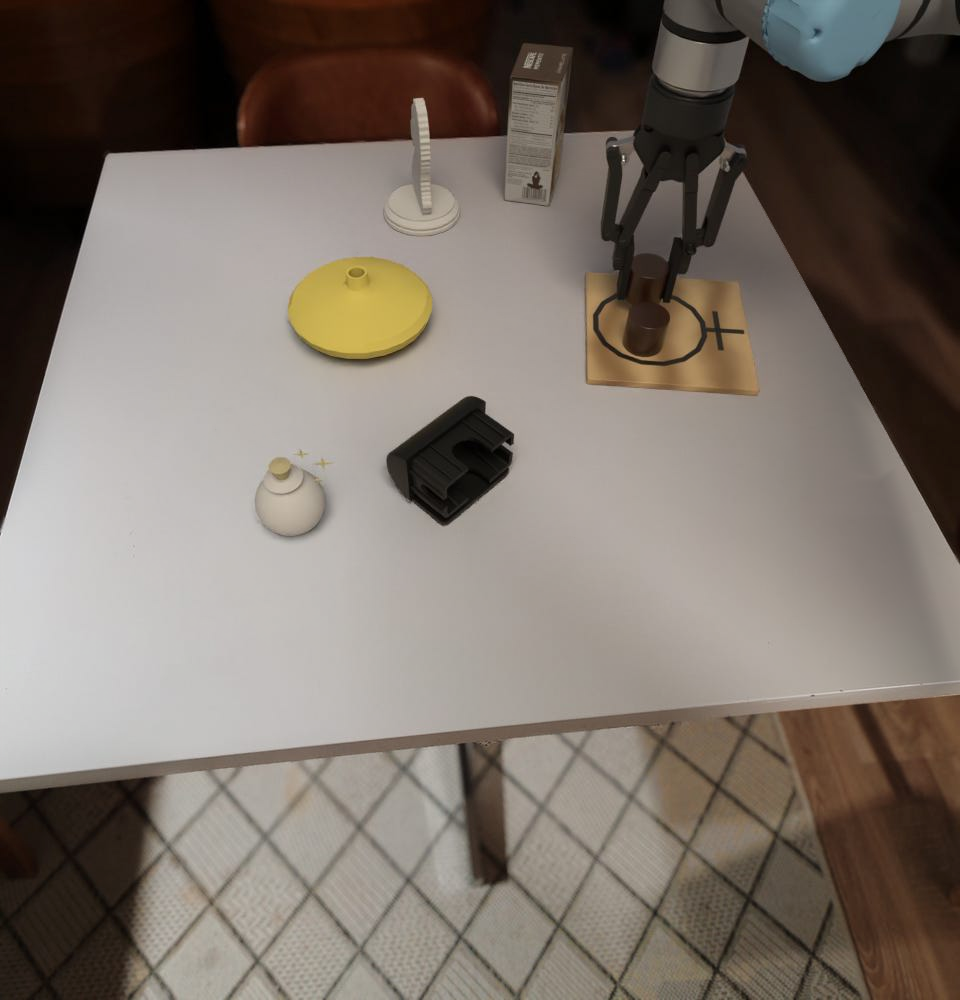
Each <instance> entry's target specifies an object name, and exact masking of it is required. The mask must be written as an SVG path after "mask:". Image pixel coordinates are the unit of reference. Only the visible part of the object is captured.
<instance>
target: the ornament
mask: <svg viewBox="0 0 960 1000" xmlns="http://www.w3.org/2000/svg"><path fill="white" fill-rule="evenodd" d="M309 454H310V452H303V451H302V449H301V448H299V452H297V453H293V454H292V455H294V456H300V457H301V459H302V460H304V456H305V455H309ZM331 464H333V462H331V461H324V458H323V457H322V456H320V462H315V463H313V466H315V465H316V466H321V467H322V469H323V471H325V468H326V465H331ZM321 481H324V479H323V478H319V476H317V477H316V476H314V475H313V474H312V473H310V472H309V471H307V470H306V469H302V468H300V467H299V466H298V465H297V464H294V463H291V461H290V459H288V458H287V457H284V456H279V457H275V458H273V459H272V460H270V462H269V463H268V470H266V472H265V474H264V476H263V479H262V480H261V481H260V483H259V484H258V486H257V488H256V491H255V495H254V508H255V512H256V515H257V517H258V519H259V521H260V522H261V523H262V524H263V525H264V526H265V527H266V528H267V529H268V530H270V531H271V532H273V533H275V534H277V535H280V536H285V537H286V536H287V537H292V536H293V537H295V536H299V535H303V534H305V533H307V532H309V531H310V530H312V529H313V528H314V527H316V525H318V523H319V522H320V521H321V519H322V517H323V515H324V512H325V508H326V493H325V490H324V488H323V486H322V484H321Z"/></svg>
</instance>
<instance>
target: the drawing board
mask: <svg viewBox="0 0 960 1000" xmlns="http://www.w3.org/2000/svg"><path fill="white" fill-rule="evenodd" d="M618 275H619V273H603V272H589V271H588V272H585V278H584V279H585V280H584V281H585V284H584V285H585V352H586V353H585V356H586V357H585V358H586V359H585V360H586V363H585V364H586V384H587V385H593V386H594V385H597V386H610V387H624V388H625V387H626V388H640V389H641V388H642V389H656V390H668V391H669V390H670V391H671V390H672V391H685V392H686V391H687V392H698V393H699V392H700V393H712V394H713V393H715V394H729V395H741V396H742V395H744V396H758V395H759V393H760V390H761V389H760V386H759V380H758V374H757V369H756V365H755V360H754V355H753V350H752V346H751V345H752V344H751V340H750V335H749V330H748V325H747V320H746V315H745V309H744V304H743V300H742V294H741V290H740V285H739V281H733V280H732V281H730V280H729V281H728V280H717V279H716V280H714V279H697V278H683V277H677V278H676V282H675V285H674V289H673V293H672V296H671V300H670V303H663V299H662V300H661V302H660V303H659V305H661V306H663V307H664V308H666V309H667V311H668V312H669V314H670V322H669V326H668V329H667V333H666V336H665V340H664V344H663V347H662V350H661V351H660V352H659V353H658V354H656V355H654V356H651V357H639V356H635V355H633V354H631V353H629V352H628V351H627V350H626V349H625V348H624V346H623V343H622V340H623V335H624V331H625V326H626V322H627V317H628V313H629V310H630V308H631V307H632V306H633V305H632V304H630V303H629V302H627V301H626V300H625V299H624V300H617V280H618Z"/></svg>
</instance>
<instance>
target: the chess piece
mask: <svg viewBox="0 0 960 1000" xmlns="http://www.w3.org/2000/svg"><path fill="white" fill-rule="evenodd" d="M412 102H413V103H412V104H411V106H410V107H411V108H410V110H411V112H410V113H411V114H410V115H411V119H410V120H409V122H410V136H411V139H412V140H411V141H412V146H413V147H414V149H413V150H414V151H413V155H412V161H411V181H412V183H409V184H405V185H402V186H400V187H398V188H396V189H395V190H394V191H393V192H392V193H391V194H390V195H389V196H388V197H387V198H386V200H385V202H384V206H383V218H384V220H385V222H386V224H387V225H388V226H389V227H391V228H392V229H393V230H394V231H397V232H399V233H401V234H404V235H408V236H415V237H428V236H429V237H430V236H434V235H438V234H441V233H444V232H446V231H448V230H450V229H452V227H454V226H455V225H456V224H457V223H458V221H459V219H460V216H461V208H460V204H459V201H458V199H457V198H456V197H455V196H454V195H453V194H452V193H451V191H449V190H448V189H447V188H445V187H443V186H441V185H438V184H434V183H431V160H432V159H431V140H430V139H431V138H430V125H429V118H428V117H429V116H428V110H427V106H426V101H425V99H424V97H418V98H417V97H416V98H413V99H412Z"/></svg>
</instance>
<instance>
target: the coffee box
mask: <svg viewBox="0 0 960 1000" xmlns="http://www.w3.org/2000/svg"><path fill="white" fill-rule="evenodd" d="M573 54H574V47H571V46H559V45H551V44H538V43H530V42H529V43H527V42H524V43H522V45H521V47H520V50H519V52H518V55H517V58H516V61H515V62H514V65H513V68H512V71H511V73H510V76H509V94H508V95H509V97H508V111H507V112H508V113H507V114H508V115H507V133H506V135H507V136H506V153H505V154H506V155H505V172H504V196H503V198H504V200H505V201H508V202H516V203H523V204H531V205H538V206H545V207H549V206H550V205H551V202H552V199H553V196H554V193H555V189H556V185H557V181H558V177H559V174H560V171H561V162H562V152H563V143H564V134H565V125H566V116H567V106H568V98H569V89H570V79H571V71H572V70H571V69H572V61H573Z"/></svg>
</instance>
